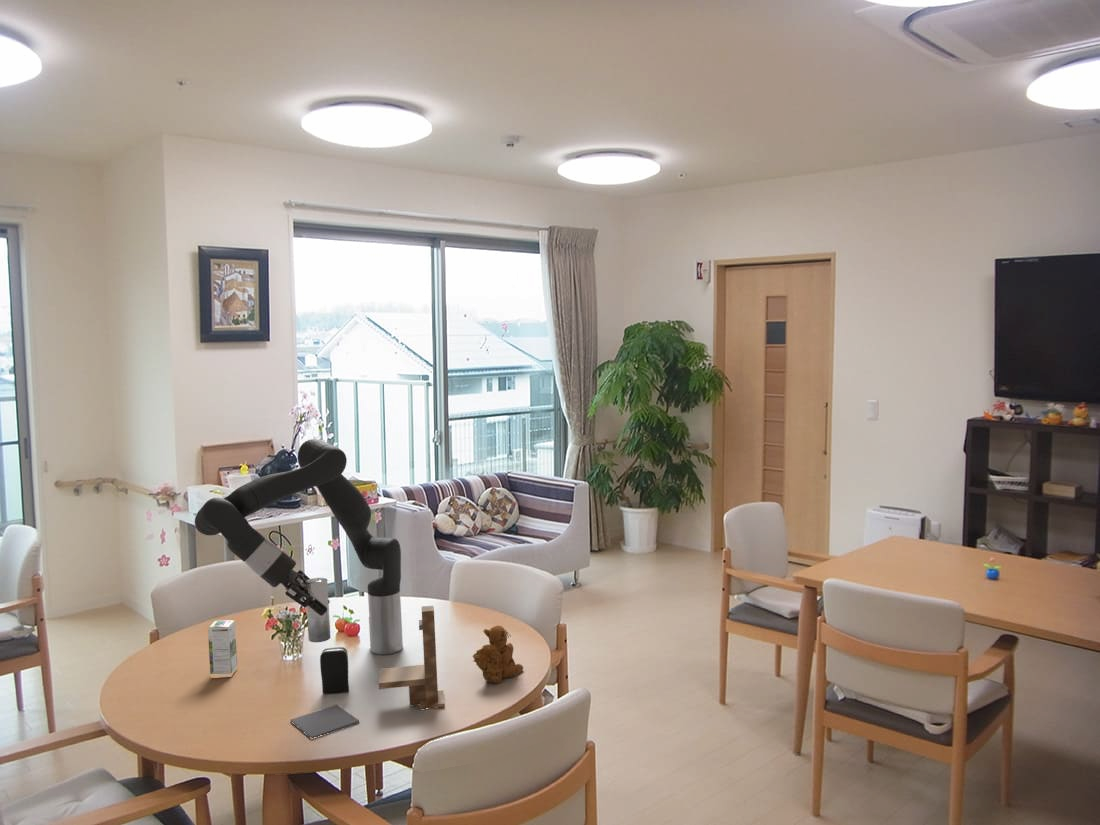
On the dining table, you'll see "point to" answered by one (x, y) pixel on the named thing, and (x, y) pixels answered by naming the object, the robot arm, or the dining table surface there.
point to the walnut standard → (419, 670)
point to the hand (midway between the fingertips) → (325, 608)
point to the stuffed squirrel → (497, 656)
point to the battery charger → (334, 670)
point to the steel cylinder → (317, 623)
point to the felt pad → (325, 721)
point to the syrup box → (222, 647)
